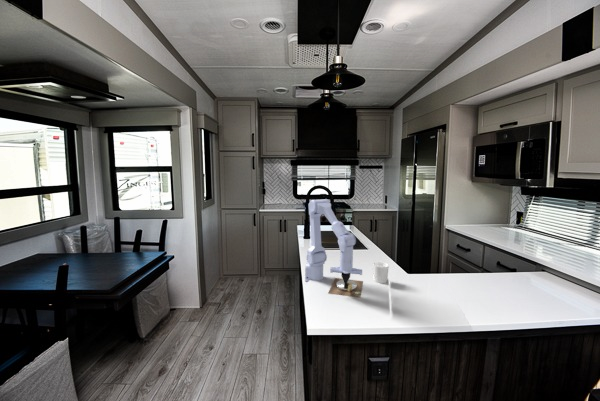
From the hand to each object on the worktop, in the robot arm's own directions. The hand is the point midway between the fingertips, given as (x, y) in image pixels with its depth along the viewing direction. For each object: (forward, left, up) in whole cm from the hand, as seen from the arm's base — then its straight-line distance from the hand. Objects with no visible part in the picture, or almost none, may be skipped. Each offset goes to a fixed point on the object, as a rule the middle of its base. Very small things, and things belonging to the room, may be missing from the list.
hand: (345, 288), depth 129 cm
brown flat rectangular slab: (-1, +8, -4) cm, 10 cm away
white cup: (+15, +21, -5) cm, 27 cm away
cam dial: (0, +6, -3) cm, 7 cm away
